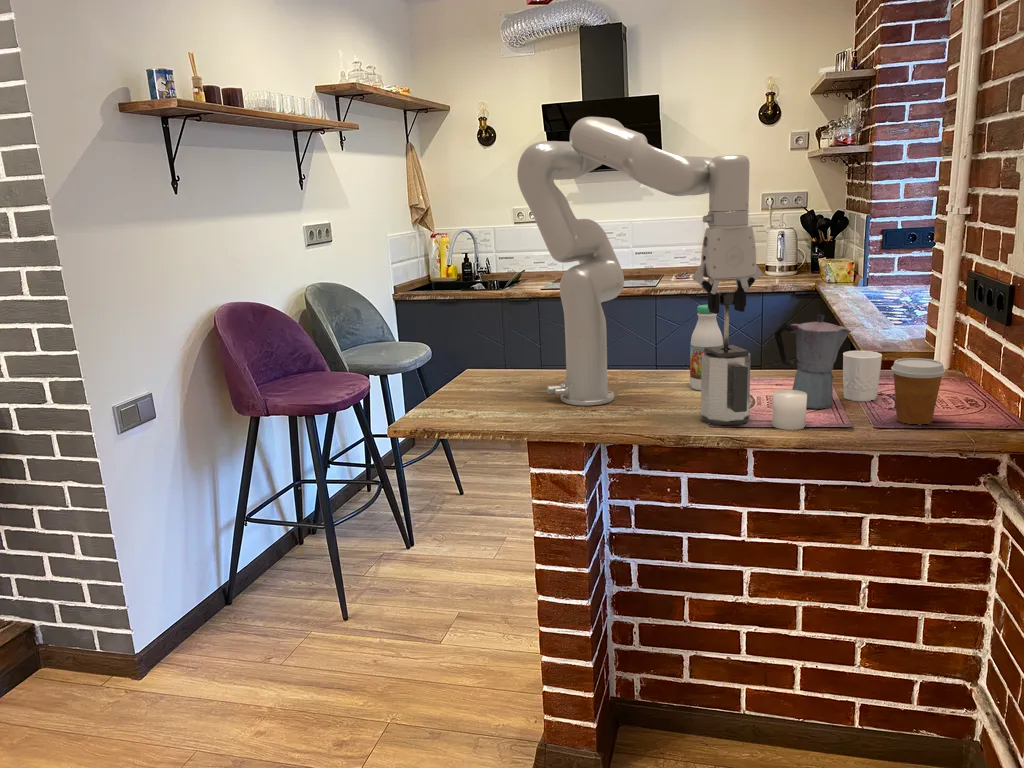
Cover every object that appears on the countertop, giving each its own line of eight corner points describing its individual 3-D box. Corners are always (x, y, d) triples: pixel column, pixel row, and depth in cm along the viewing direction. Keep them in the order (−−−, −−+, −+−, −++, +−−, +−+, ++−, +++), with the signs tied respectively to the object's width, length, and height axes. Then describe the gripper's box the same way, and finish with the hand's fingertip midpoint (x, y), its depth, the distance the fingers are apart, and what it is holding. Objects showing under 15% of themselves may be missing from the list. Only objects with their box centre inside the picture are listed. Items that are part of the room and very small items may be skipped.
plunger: (717, 363, 160) (719, 295, 157) (703, 357, 166) (704, 291, 163) (749, 360, 161) (750, 292, 158) (733, 354, 168) (734, 289, 164)
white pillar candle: (782, 431, 157) (783, 399, 156) (766, 422, 164) (767, 391, 162) (812, 428, 159) (813, 396, 157) (794, 419, 165) (795, 388, 163)
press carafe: (718, 431, 159) (719, 357, 156) (693, 415, 171) (693, 346, 167) (763, 426, 161) (765, 353, 158) (735, 411, 172) (736, 342, 169)
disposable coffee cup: (878, 421, 161) (882, 363, 158) (902, 411, 166) (906, 355, 163) (926, 431, 153) (931, 370, 151) (949, 420, 159) (954, 362, 156)
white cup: (873, 393, 181) (876, 350, 179) (883, 402, 174) (886, 357, 171) (837, 393, 183) (839, 350, 180) (845, 402, 175) (847, 358, 173)
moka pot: (851, 410, 169) (856, 317, 164) (775, 410, 172) (778, 318, 167) (842, 399, 178) (847, 310, 173) (770, 398, 181) (773, 311, 176)
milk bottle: (688, 383, 197) (689, 303, 193) (720, 383, 196) (722, 302, 192) (691, 391, 190) (691, 308, 185) (724, 391, 189) (726, 307, 184)
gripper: (696, 223, 152) (695, 317, 156) (777, 218, 155) (774, 311, 159) (680, 222, 159) (679, 312, 163) (758, 217, 162) (756, 306, 167)
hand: (726, 310), depth 161 cm, fingers open, 4 cm apart
